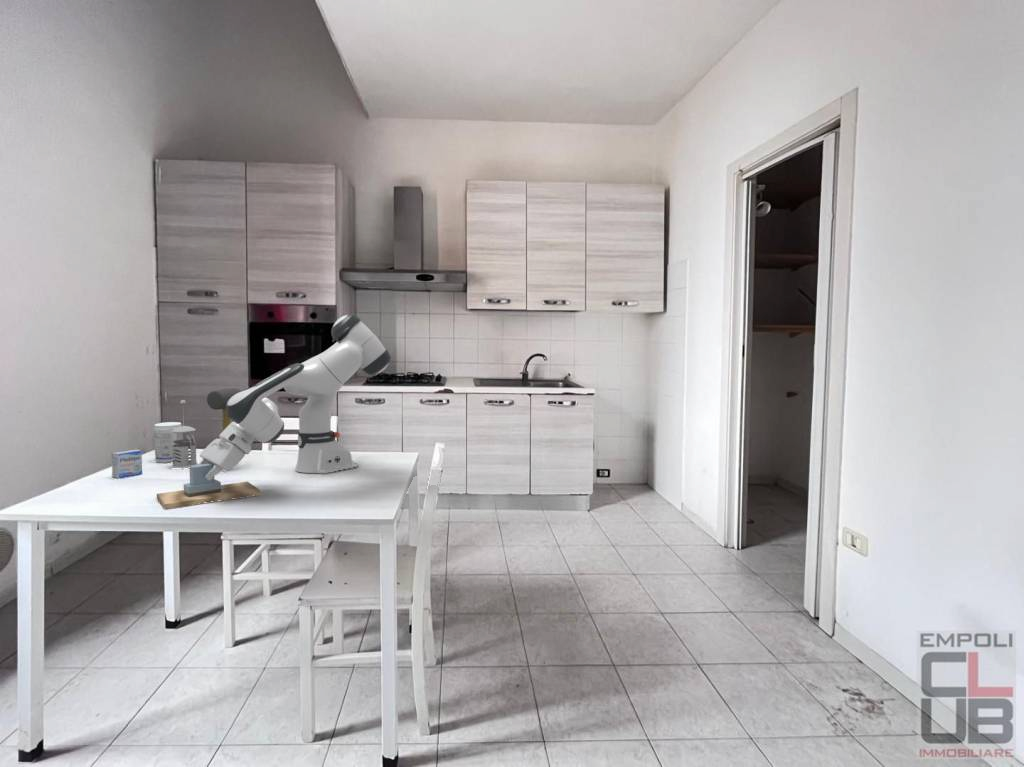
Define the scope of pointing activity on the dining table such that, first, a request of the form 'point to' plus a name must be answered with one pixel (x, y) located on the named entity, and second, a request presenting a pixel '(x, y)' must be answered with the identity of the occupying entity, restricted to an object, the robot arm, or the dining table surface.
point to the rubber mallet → (221, 401)
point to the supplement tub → (165, 441)
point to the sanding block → (201, 481)
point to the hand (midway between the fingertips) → (201, 475)
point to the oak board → (207, 495)
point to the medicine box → (126, 463)
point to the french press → (184, 447)
